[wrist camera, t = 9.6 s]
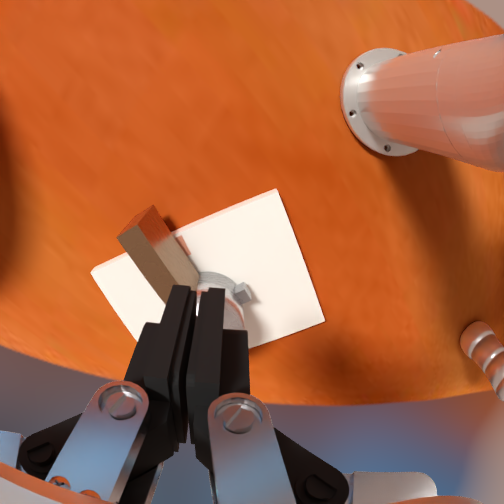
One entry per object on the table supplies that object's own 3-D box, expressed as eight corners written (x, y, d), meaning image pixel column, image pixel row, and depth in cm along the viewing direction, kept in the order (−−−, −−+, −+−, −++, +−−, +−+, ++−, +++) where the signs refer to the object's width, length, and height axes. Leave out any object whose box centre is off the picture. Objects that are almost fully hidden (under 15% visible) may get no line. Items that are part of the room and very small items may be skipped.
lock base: (275, 188, 34) (278, 191, 32) (322, 314, 41) (325, 321, 39) (94, 267, 36) (90, 273, 35) (164, 367, 43) (162, 374, 42)
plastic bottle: (457, 325, 44) (520, 405, 26) (485, 310, 44) (549, 382, 26) (453, 350, 47) (507, 428, 29) (480, 336, 46) (536, 406, 28)
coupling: (262, 308, 38) (268, 344, 32) (191, 340, 39) (186, 377, 33) (186, 184, 31) (174, 201, 25) (110, 231, 33) (87, 257, 26)
